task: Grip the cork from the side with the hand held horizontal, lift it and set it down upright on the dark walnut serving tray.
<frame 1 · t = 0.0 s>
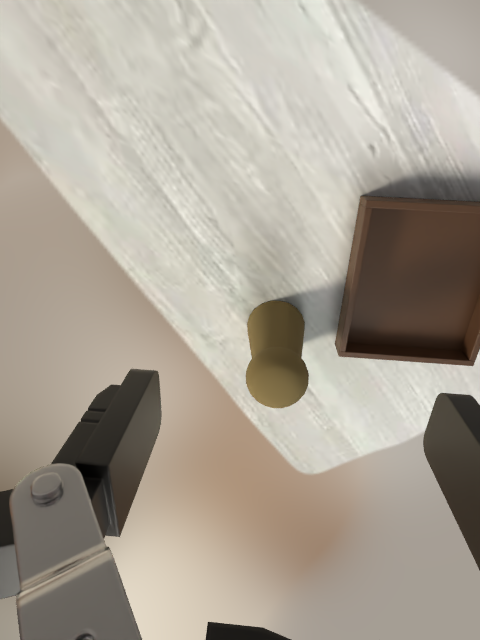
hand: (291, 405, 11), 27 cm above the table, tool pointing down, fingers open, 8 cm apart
tray: (415, 280, 37), on the table
cork: (275, 326, 40), on the table
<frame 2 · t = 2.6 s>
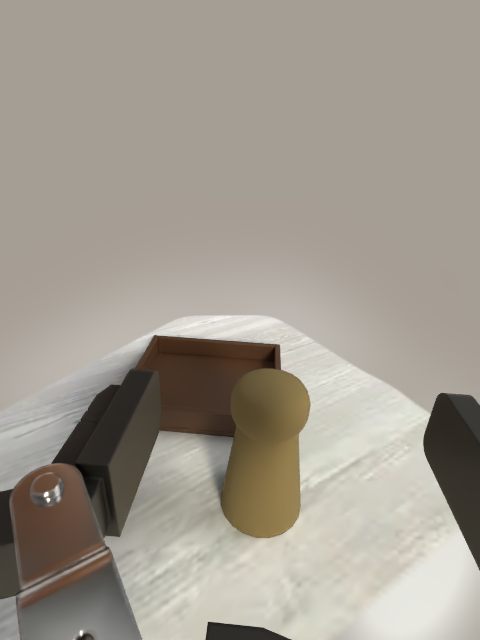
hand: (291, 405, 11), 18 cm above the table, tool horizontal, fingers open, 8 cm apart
tray: (208, 390, 41), on the table
cork: (260, 501, 29), on the table
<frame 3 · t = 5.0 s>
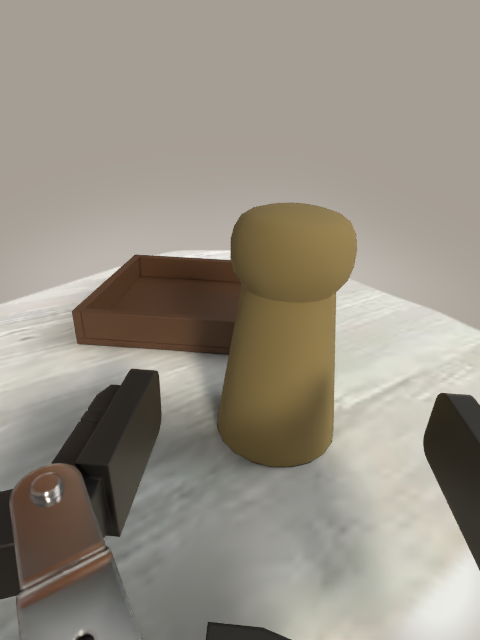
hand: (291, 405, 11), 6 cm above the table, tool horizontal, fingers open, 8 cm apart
tray: (201, 311, 32), on the table
cork: (274, 424, 20), on the table
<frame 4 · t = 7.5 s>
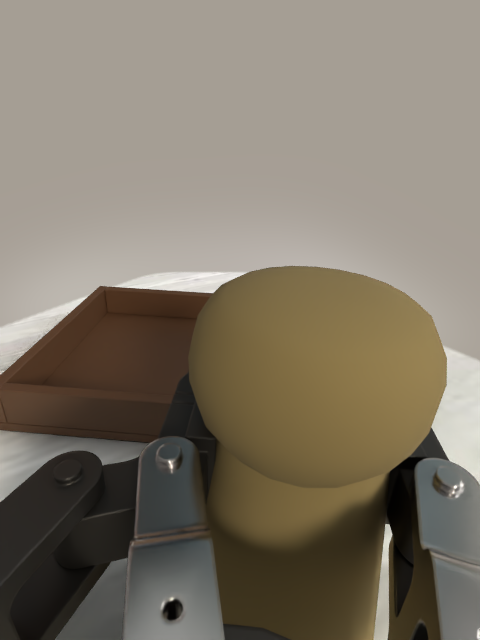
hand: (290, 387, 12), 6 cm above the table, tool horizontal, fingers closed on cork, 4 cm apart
tray: (179, 367, 24), on the table
cork: (275, 606, 12), on the table, touching gripper
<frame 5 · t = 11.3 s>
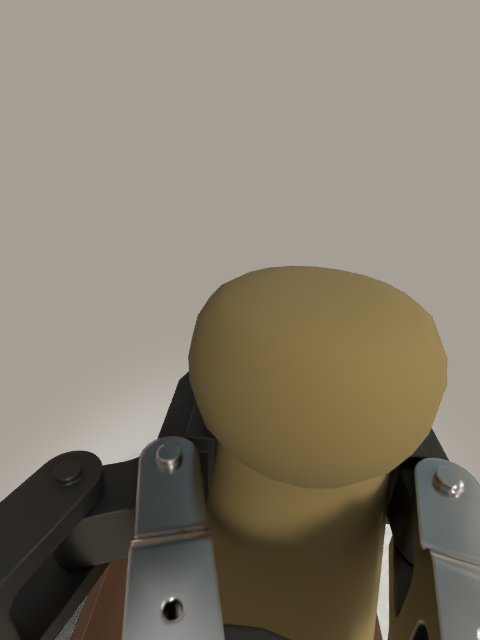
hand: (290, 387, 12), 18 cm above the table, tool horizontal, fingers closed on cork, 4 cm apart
cork: (275, 606, 12), point 11 cm above the table, touching gripper
when the fingers open (7 cm above the table, at t = 15.1 s): cork stays where it is, resting on tray.
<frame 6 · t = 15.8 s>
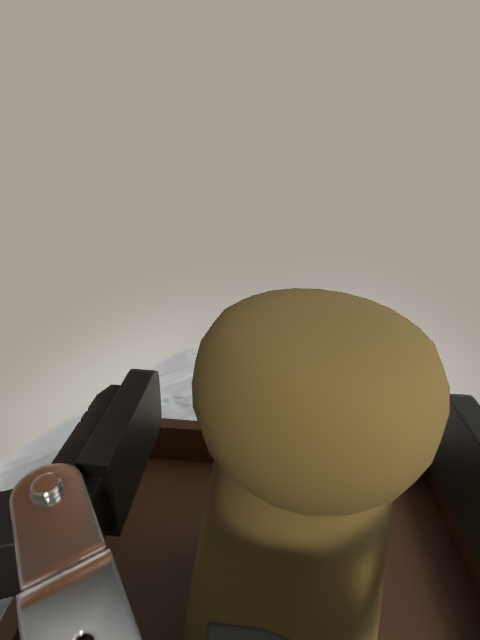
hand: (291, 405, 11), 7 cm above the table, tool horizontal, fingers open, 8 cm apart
tray: (273, 620, 13), on the table
cork: (277, 621, 12), resting on tray
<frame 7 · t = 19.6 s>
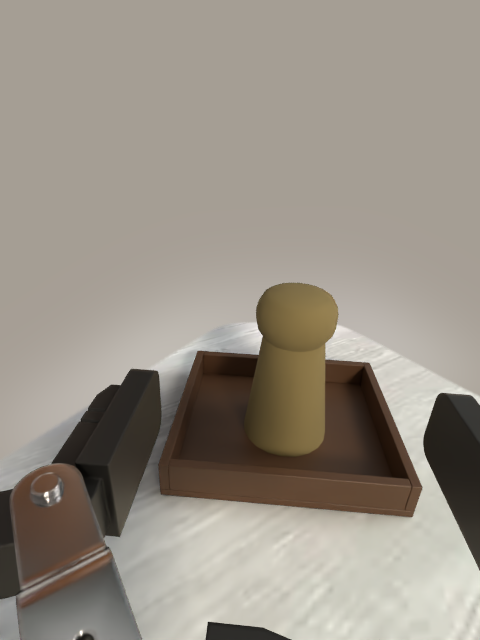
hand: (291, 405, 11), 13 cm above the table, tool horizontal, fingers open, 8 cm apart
tray: (281, 429, 29), on the table
cork: (283, 428, 29), resting on tray
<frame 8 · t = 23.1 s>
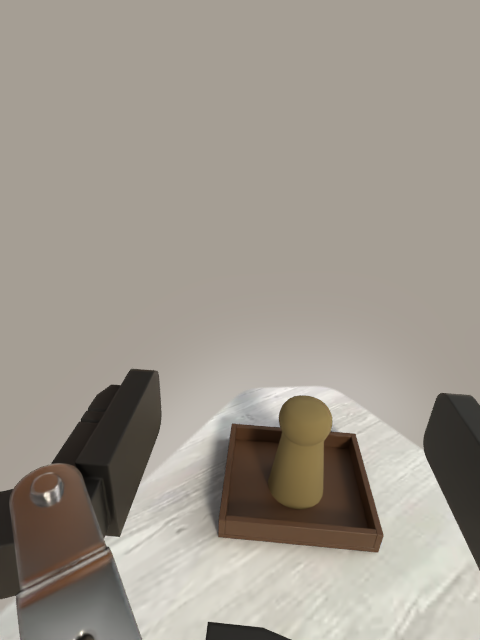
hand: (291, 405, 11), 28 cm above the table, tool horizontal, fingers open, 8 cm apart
tray: (293, 487, 42), on the table
cork: (295, 486, 42), resting on tray
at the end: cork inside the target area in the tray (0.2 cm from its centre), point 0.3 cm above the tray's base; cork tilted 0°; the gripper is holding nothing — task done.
